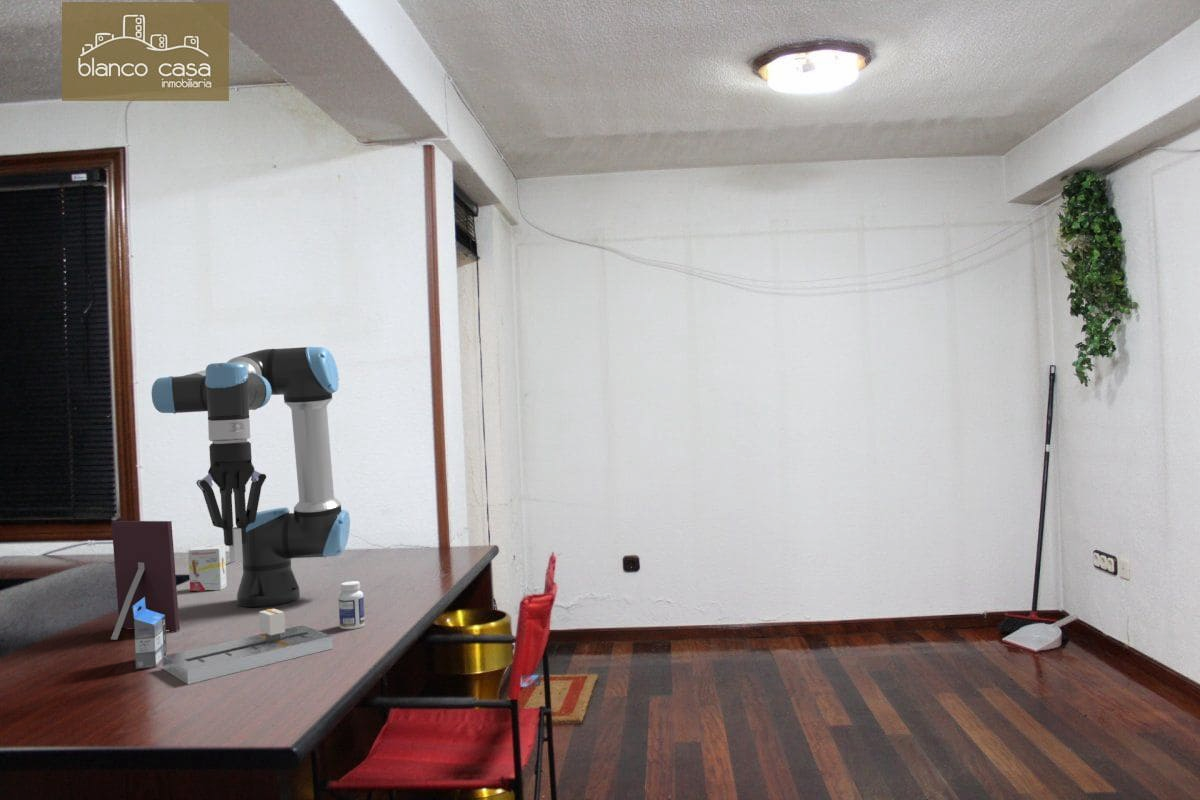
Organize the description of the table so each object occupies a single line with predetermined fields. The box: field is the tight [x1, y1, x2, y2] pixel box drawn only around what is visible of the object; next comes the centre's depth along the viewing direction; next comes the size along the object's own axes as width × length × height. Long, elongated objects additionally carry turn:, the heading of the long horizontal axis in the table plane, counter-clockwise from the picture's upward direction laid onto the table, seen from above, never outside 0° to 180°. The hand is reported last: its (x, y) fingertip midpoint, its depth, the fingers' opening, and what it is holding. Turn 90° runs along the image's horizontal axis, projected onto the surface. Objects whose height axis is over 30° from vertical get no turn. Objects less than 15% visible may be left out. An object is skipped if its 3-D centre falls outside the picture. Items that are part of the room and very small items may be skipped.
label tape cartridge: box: [132, 597, 168, 670], centre depth 171 cm, size 9×4×12 cm, turn 15°
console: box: [162, 624, 334, 685], centre depth 171 cm, size 14×28×3 cm, turn 133°
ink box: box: [187, 544, 228, 592], centre depth 241 cm, size 9×5×12 cm, turn 95°
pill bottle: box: [337, 580, 366, 630], centre depth 193 cm, size 5×5×10 cm
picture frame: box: [110, 520, 180, 640], centre depth 194 cm, size 17×10×25 cm, turn 71°
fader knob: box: [259, 608, 286, 643], centre depth 174 cm, size 5×3×8 cm, turn 43°
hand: (236, 561), depth 170 cm, fingers closed
